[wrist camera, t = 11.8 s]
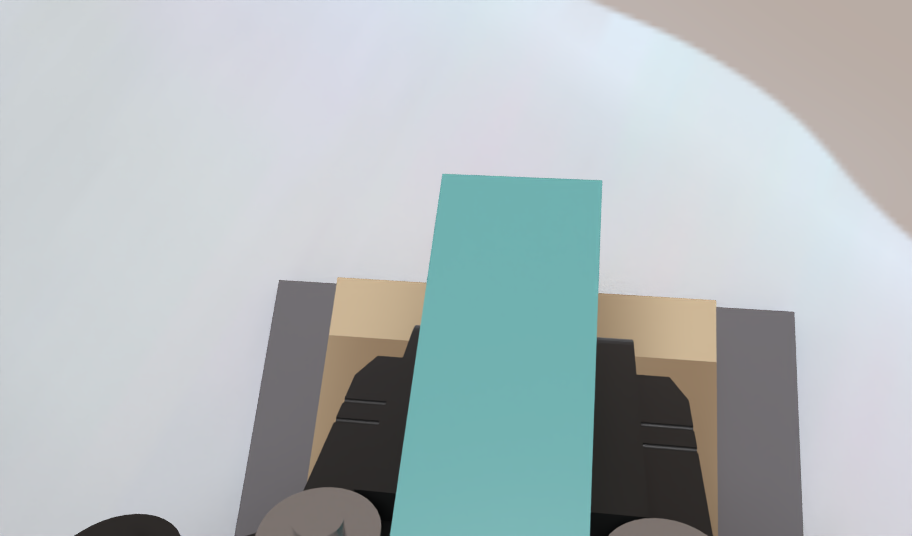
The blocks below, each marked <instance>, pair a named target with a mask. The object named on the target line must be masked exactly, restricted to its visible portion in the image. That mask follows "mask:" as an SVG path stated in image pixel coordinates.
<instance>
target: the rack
mask: <svg viewBox="0 0 912 536" xmlns="http://www.w3.org/2000/svg"><path fill="white" fill-rule="evenodd" d="M426 284H427V283H422V282H406V281H389V280H373V279H356V278H340V277H338V278H337V285H336V292H335V298H334V305H333V312H332V318H331V325H330V332H329V338H328V345H327V352H326V358H325V365H324V372H323V378H322V385H321V392H320V398H319V405H318V412H317V418H316V425H315V432H314V438H313V445H312V452H311V458H310V465H309V472H308V478H307V481H308V479H309V477H310V474H311V472H312V470H313V468H314V465H315V463H316V461H317V459H318V456H319V454H320V452H321V450H322V447H323V445H324V443H325V441H326V439H327V436H328V434H329V432H330V430H331V427H332V425H333V423H334V422H336V416H337V414H338V412H339V409H340V407H341V405H342V403H344V400H345V396H346V394H347V391H348V389H349V387H350V385H351V382H352V380H353V378H354V376H355V374H356V373H358V372H359V371H360V370H361V369H362V368H364V367H365V366H366V365H367V364H368V363H369V362H371V361H372V360H373V359H374V358H375V357H377V356H389V357H403V355H404V353H405V350H406V347H407V344H408V342H409V339H410V336H411V333H412V331H413V328H414V327H415V325H421V318H422V312H423V305H424V298H425V291H426ZM597 337H602V338H617V339H632V340H633V342H634V351H635V362H636V373H637V375H651V376H664V377H670V378H671V379H672V380H673V382H674V383H675V384H676V385H677V387H678V388H679V389H680V390H681V391H682V393H683V394H684V395H685V396H686V397H687V399H688V400H689V404H690V410H691V415H692V421H693V431H694V432H695V438H696V443H697V453H698V454H699V460H700V466H701V471H702V477H703V482H704V488H705V494H706V499H707V505H708V510H709V516H710V521H711V527H712V533H713V536H718V476H717V355H716V300H702V299H685V298H669V297H652V296H636V295H619V294H603V293H598V314H597Z"/></svg>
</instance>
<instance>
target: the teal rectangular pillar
mask: <svg viewBox="0 0 912 536" xmlns="http://www.w3.org/2000/svg"><path fill="white" fill-rule="evenodd" d="M601 199H602V180H579V179H555V178H530V177H506V176H482V175H457V174H442V181H441V187H440V194H439V201H438V208H437V215H436V222H435V229H434V236H433V243H432V249H431V256H430V263H429V270H428V277H427V284H426V291H425V298H424V305H423V312H422V318H421V325H420V332H419V339H418V346H417V353H416V360H415V367H414V374H413V380H412V387H411V394H410V401H409V408H408V415H407V422H406V429H405V436H404V442H403V449H402V456H401V463H400V470H399V477H398V484H397V491H396V498H395V504H394V511H393V518H392V525H391V532H390V536H590V514H591V486H592V457H593V428H594V400H595V371H596V342H597V314H598V285H599V256H600V228H601Z"/></svg>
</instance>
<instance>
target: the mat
mask: <svg viewBox="0 0 912 536" xmlns="http://www.w3.org/2000/svg"><path fill="white" fill-rule="evenodd" d="M336 285H337V284H334V283H318V282H302V281H285V280H279V284H278V290H277V295H276V301H275V307H274V313H273V318H272V324H271V330H270V336H269V341H268V347H267V353H266V358H265V364H264V370H263V376H262V381H261V387H260V393H259V399H258V404H257V410H256V416H255V422H254V427H253V433H252V439H251V445H250V450H249V456H248V462H247V467H246V473H245V479H244V485H243V490H242V496H241V502H240V508H239V513H238V519H237V525H236V531H235V536H247V535H250V534H253V533H256V532H257V530H258V527H259V525H260V523H261V521H262V519H263V518H264V517H265V516H266V514H267V513H268V512H269V511H270V510H271V509H272V508H273V507H274V506H275V505H277V504H278V503H279V502H281V501H282V500H284V499H286V498H288V497H290V496H291V495H294V494H296V493H299V492H302V491H303V490H304V488H305V486H306V483H307V478H308V472H309V465H310V458H311V452H312V445H313V438H314V432H315V425H316V418H317V412H318V405H319V398H320V392H321V385H322V378H323V372H324V365H325V358H326V352H327V345H328V338H329V332H330V325H331V318H332V312H333V305H334V298H335V292H336ZM716 355H717V476H718V536H803V515H802V491H801V466H800V441H799V417H798V392H797V367H796V342H795V318H794V312H787V311H771V310H755V309H739V308H722V307H716Z"/></svg>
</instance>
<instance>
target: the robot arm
mask: <svg viewBox="0 0 912 536" xmlns="http://www.w3.org/2000/svg"><path fill="white" fill-rule="evenodd" d="M419 332H420V325H415V327H414V328H413V331H412V333H411V336H410V339H409V342H408V344H407V347H406V350H405V353H404V355H403V357H389V356H377V357H375V358H374V359H373V360H372V361H371V362H369V363H368V364H367V365H366V366H365V367H364V368H362V369H361V370H360V371H359V372H358V373H356V374H355V376H354V378H353V380H352V382H351V385H350V387H349V389H348V391H347V394H346V396H345V400H344V403H342V405H341V407H340V409H339V412H338V414H337V416H336V422H334V423H333V425H332V427H331V430H330V432H329V434H328V436H327V439H326V441H325V443H324V445H323V447H322V450H321V452H320V454H319V456H318V459H317V461H316V463H315V465H314V468H313V470H312V472H311V474H310V477H309V479H308V481H307V483H306V486H305V488H304V490H303V491H302V492H299V493H296V494H294V495H291V496H290V497H288V498H286V499H284V500H282V501H281V502H279V503H278V504H277V505H275V506H274V507H273V508H272V509H271V510H270V511H269V512H268V513H267V514H266V516H265V517H264V518H263V519H262V521H261V523H260V525H259V527H258V530H257V532H256V533H253V534H250V535H247V536H390V532H391V525H392V518H393V511H394V504H395V498H396V491H397V484H398V477H399V470H400V463H401V456H402V449H403V442H404V436H405V429H406V422H407V415H408V408H409V401H410V394H411V387H412V380H413V374H414V367H415V360H416V353H417V346H418V339H419ZM75 536H180V534H179V532H178V530H177V529H176V528H175V527H174V526H173V525H172V524H171V523H170V522H168V521H166V520H165V519H162V518H160V517H157V516H152V515H147V514H131V515H123V516H118V517H113V518H110V519H107V520H104V521H101V522H99V523H97V524H94V525H92V526H90V527H88V528H87V529H85V530H83V531H81V532H80V533H78V534H76V535H75ZM590 536H713V533H712V527H711V521H710V516H709V510H708V505H707V499H706V494H705V488H704V482H703V477H702V471H701V466H700V460H699V454H698V453H697V443H696V438H695V432H694V431H693V421H692V415H691V410H690V404H689V400H688V399H687V397H686V396H685V395H684V394H683V393H682V391H681V390H680V389H679V388H678V387H677V385H676V384H675V383H674V382H673V380H672V379H671V378H670V377H664V376H651V375H637V373H636V362H635V351H634V342H633V340H632V339H617V338H602V337H597V342H596V371H595V400H594V428H593V457H592V486H591V514H590Z"/></svg>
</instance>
